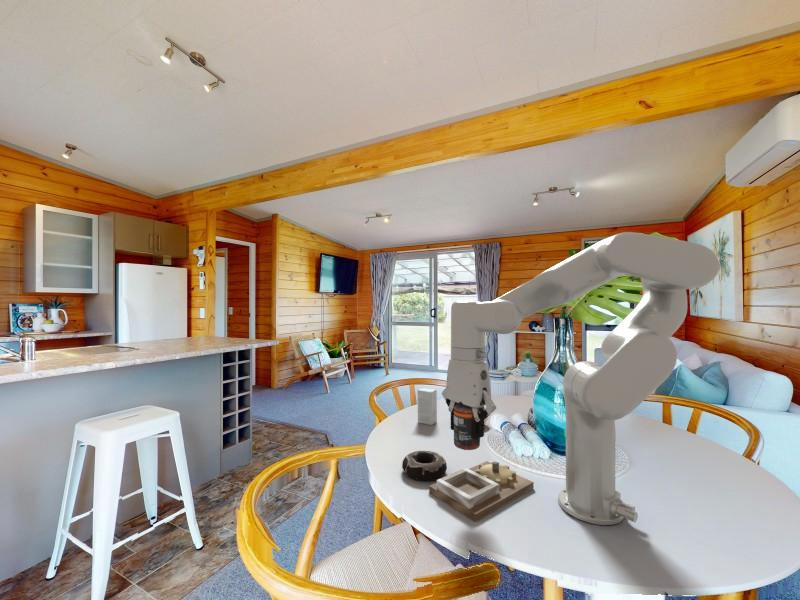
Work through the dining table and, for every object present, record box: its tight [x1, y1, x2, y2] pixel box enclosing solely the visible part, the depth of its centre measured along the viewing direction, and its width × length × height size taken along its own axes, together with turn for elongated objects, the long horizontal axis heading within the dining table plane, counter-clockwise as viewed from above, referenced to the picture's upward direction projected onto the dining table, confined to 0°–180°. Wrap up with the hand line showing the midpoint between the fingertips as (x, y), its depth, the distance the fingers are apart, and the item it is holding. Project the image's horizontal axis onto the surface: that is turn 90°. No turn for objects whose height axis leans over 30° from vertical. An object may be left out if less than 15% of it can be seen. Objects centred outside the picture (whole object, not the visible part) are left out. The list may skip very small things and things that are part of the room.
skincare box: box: [417, 387, 438, 426], centre depth 132 cm, size 6×4×12 cm
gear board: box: [428, 460, 534, 523], centre depth 85 cm, size 14×21×5 cm, turn 127°
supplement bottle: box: [453, 402, 481, 451], centre depth 82 cm, size 6×6×11 cm
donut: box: [401, 450, 447, 482], centre depth 94 cm, size 12×12×4 cm
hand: (466, 432), depth 82 cm, fingers closed on supplement bottle, 6 cm apart
